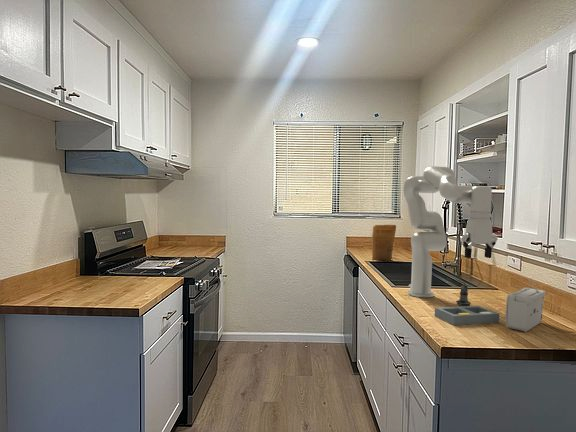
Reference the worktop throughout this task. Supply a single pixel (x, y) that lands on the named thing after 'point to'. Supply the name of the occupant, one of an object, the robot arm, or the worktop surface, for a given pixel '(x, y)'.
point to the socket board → (466, 315)
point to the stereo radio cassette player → (524, 308)
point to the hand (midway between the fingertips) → (477, 257)
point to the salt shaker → (463, 297)
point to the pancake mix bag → (383, 241)
